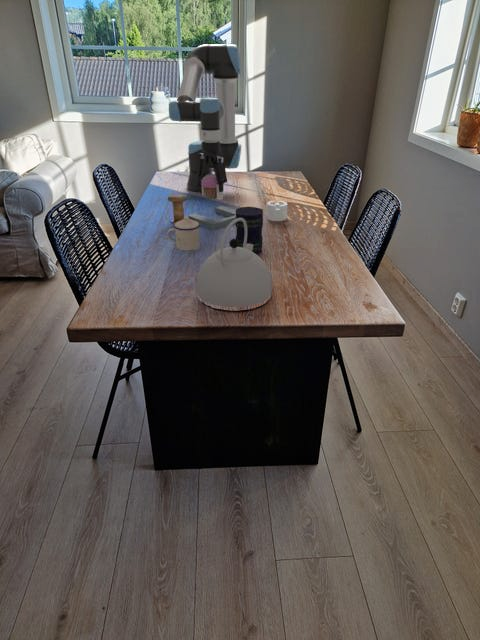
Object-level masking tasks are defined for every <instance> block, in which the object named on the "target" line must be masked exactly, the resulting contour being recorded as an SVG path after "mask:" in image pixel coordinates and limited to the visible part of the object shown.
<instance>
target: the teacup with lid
mask: <svg viewBox="0 0 480 640" xmlns="http://www.w3.org/2000/svg"><path fill="white" fill-rule="evenodd" d="M173 226H174V228H173V227H172V228H170V229H168V230H167V232H166V236H167V238H168V239H169V240H170V242H174V243H176V249H177V248H179V249H182V250H194V251H196V250H195V249H197V250H199V249H200V248H201V247H200V246H201V245H200V244H201V243H200V242H201V241H200V240H201V239H200V224H199V223H198V222H197V221H194V220H191V219H189V217H188V215H187V216H184V219H183V220H181V221H178V222H176V223H175V224H173ZM170 232H175V238H172V237H171V236H170ZM198 248H199V249H198ZM179 249H178V250H179Z"/></svg>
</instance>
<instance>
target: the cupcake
mask: <svg viewBox="0 0 480 640" xmlns="http://www.w3.org/2000/svg"><path fill="white" fill-rule="evenodd" d="M220 181H221V180H220ZM217 183H218V182H217V178H216V175H215V173H212V174H210V175H206V176H205V177H203V179H202V182H201V185H202V187H203V189H204V193H205V195H204V196H205V197H206V198H207V199H211V200H217Z"/></svg>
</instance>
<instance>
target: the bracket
mask: <svg viewBox="0 0 480 640" xmlns="http://www.w3.org/2000/svg"><path fill="white" fill-rule="evenodd" d="M287 217H288V202H286V201H284V200H278V202H276V200H270V201H267V203H266V219H267V220H269V221H272V222H282V221H286V220H287Z"/></svg>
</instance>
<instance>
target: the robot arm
mask: <svg viewBox="0 0 480 640" xmlns="http://www.w3.org/2000/svg"><path fill="white" fill-rule="evenodd" d="M183 63H184V64H183V70H184V71H183V76H182V79H181V82H180V88H179V91H178V94H177V98H176V100H173V101H170V102H169V103H168V116H169V119H170V120H171V121H172V122H197V123H199V122H200V132H201V133H200V135H201V137H200V138H201V140H198V141H194V142H191V143H189V144H188V147H187V148H188V152H187V155H188V165H189V166H188V167H189V169H188V171H189V175H188V179H187V182H186V189H187V190H189V191H192V192H197V193H198V192H201V196H206V195H205V193H204V189H203V187H202V185H201V182H202V179H203V177H205V176H206V175H210V174H213V171H214V174H215V175H216V178H217V182H218V183H217V198H216V200H217V201H220V200H224V194H223V193H224V184H225V183H228V178H227V177H228V176H227V171H226V169H228V170H229V169H237V168H238V167H239V165H240V161H241V153H242V144H240V143H239V139H238V138H237V137H236V94H235V93H236V88H235V87H236V81H237V80H238V79H239V75H241V74H242V60H241V54H240V50H239V47H238V46H237V45H236V44H229V43H226V44H225V43H222V44H221V43H220V44H219V43H217V44H207V43H206V44H202V45H198V46H197V47H196V48H194V49H193V50H192V51H190V52H189V54H188V55H187V56H186V58H185V59H184V62H183ZM206 74H207V75H211V74H212V79H213V80H214V82H215V83H216V97H203V98H201V99H200V101H196V100H197V95H198V93H199V92H198V90H199V87H200V84H201V80H202V79H201V78H203V77H204V75H206ZM220 180H221V181H220Z"/></svg>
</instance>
